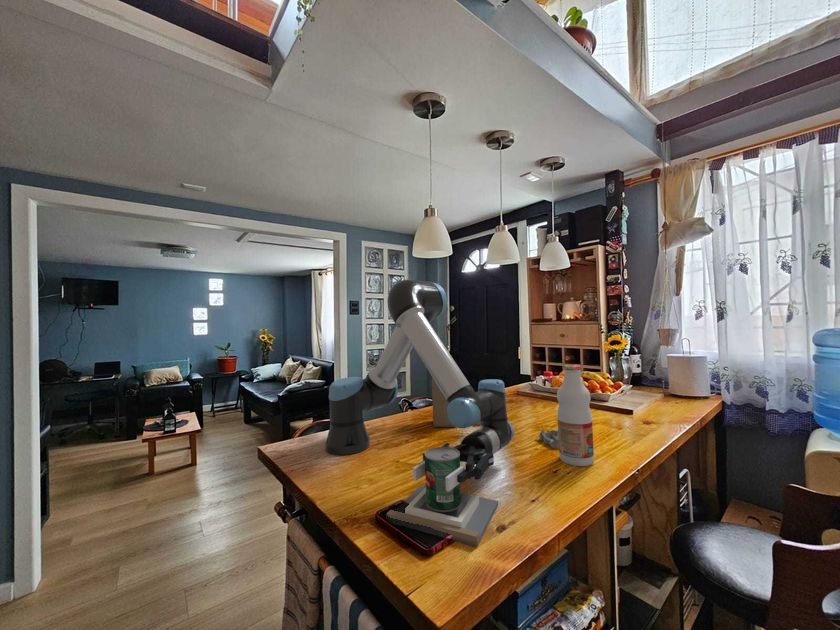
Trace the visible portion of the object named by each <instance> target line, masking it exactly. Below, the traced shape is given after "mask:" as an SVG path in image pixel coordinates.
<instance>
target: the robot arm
mask: <svg viewBox="0 0 840 630" xmlns="http://www.w3.org/2000/svg"><path fill="white" fill-rule="evenodd" d="M386 302H387V309H388V312H389V314H390V317H391V319H392V321H393V323H394V325H396V326H395V327H394V330H393V332H392V333H391V336H390V338H389V340H388V342H387V344H386V346H385V348H384V349H383V352H382V354H381V356H380V357H379V360H378V361H377V364H376V366H375V367H371V368H370V369H369V370H368V372H367V374H366V375H365V378H362V377H359V376H350V377H344V378H340V379H337V380H335V381H332V382H331V384H330V385H329V387H328V400H329V422H330V423H329V430H328V434H327V437H326V440H325V451H326V452H327V453H328V454H331V455H335V456H337V455H338V456H339V455H340V456H346V455H352V454H353V455H354V454H357V453H361V452H364V451H365V450H367V449H368V448H369V447H370V446H371V440H370V439H371V438H370V436H369V434H368V430H367V428H366V425H365V414H364V413H366V412H369V411H373V410H376V409H380V408H384V407H387V406H388V405H390V404H392V403H393V402H394V401H395V400H396V399H397V397H398V396H397V395H398V391H399V390H398V388H399V387H398V379H397V377H398V374H399V373H400V371H401V370H402V367H403V366H404V365H405V363H406V360H407V358H408V356H409V355H410V353H411V351H412V349H413V348H414V351H416V352H417V354H418V356H419V357H420V359H421V361H422V362H423V364H424V365H425V368H426V369H427V370H428V372H429V374H430V375H431V377H432V378H433V379H434V380H435V382H436V383H437V385H438V387H439V388H440V390H441V391H442V393H443V395H444V396H445V398H446V400H447V401H448V403H449V405H448V408H447V413H448V418H449V420H450V422H451V423H452V424H453V425H454V426H456V427H455V428H458V429H467V428H470V427H473V426H476V425H478V424H479V423H481V427H479V428H477V429H476V430H473V431H472V432H471V433H469V434H467V435H466V436H465V437H463V438H462V440H461V442H460V444H457V445H455V446H450V443H448V442H445V443H444V444H443V445H441V446H440V447H451V448H455V449H457V450H458V451H459V452H460V463H461V462H463V463H465V466H463V465H460V467H459V468H458V469H456V470H455V471H453V472H452V473H451V474H449V475H448V476H446V477H445V480H446V491H450V490H452V489H453V488H454V487H455V486H457V485H458V484H459V483H461V484H463V483H465V482H466V481H467V480H471V479H472V478H474V480H475V481H479V480H481V479H482V478H483V476H484V474H486V472H487V470H489V468H490V467H492V466H493V465H495V461H494V459H495V457H494V455H495V454H496V453H497V452H499V451H500V450H502V449H503V448H505V447H506V446H508V444H510V442H511V441H512V439H514V436H515V428H514V427H513V425H512V423H511V421H509V420H508V419H509V418H508V410H507V409H508V406H507V392H506V387H505V382H504V381H503V380H502V379H496V378H495V379H494V378H493V379H491V378H490V379H482V380H480V381H479V382H478V387H477V390H478V391H475V389H474V388H473V386H472V385H471V384H470V382H469V380H467V377H466V376H465V375H464V373H463V372H462V370H461V369H460V367H459V366H458V364H457V362H456V360H454V358H453V357H452V355H451V354H450V352H449V350H448V349H447V347H446V346H445V344H444V343H443V342H442V340H441V338H440V337H439V335H438V334H437V333H436V330H435V329H434V328H433V326H432V325H431V324H432V322H433V320H434V318H435V317H439V316H441V315H442V314H444V313H445V311H446V308H447V306H448V298H447V293H446V291H445V289H444V288H443V287H442V286H441V285H440V284H438V283H435V282H432V281H429V280H428V281H422V280H414V279H402V280H399V281H398V282H395V284H394V285H392V287H391V288H390V290H389V291H388V296H387V301H386ZM480 421H481V422H480ZM423 477H425V452H424V453H423V454H422V461H421V462H419V463H418V464H416V465H415V466H413V467H412V478H413V479H412V480H413V481H414V482H416V481H418V480H420V479H422V478H423Z"/></svg>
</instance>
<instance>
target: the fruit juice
mask: <svg viewBox="0 0 840 630" xmlns="http://www.w3.org/2000/svg"><path fill="white" fill-rule="evenodd" d="M562 370H563V372H564V377H563V381H562V384H561V385H560V386H559V388H557V393H556V399H557V401H558V407H557V412H556V413H557V416H556V417H557V418H556V420H557V430H558V440H559V449H558V454H559V455H558V456H559V459H560V461H562V462H563V463H565V464H567V465H570V466H573V467H588V466H591V465H593V464H594V462H595V461H594V460H595V453H594V451H595V450H594V449H595V448H594V432H593V415H592V413H593V412H592V411H591V408H590V403H591V393H590V390H589V389H588V388H587V387H586V386H585V384H584V382H583V380H582V375H581V372H582V366H581V365H580V364H564V365H563V367H562Z"/></svg>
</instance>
